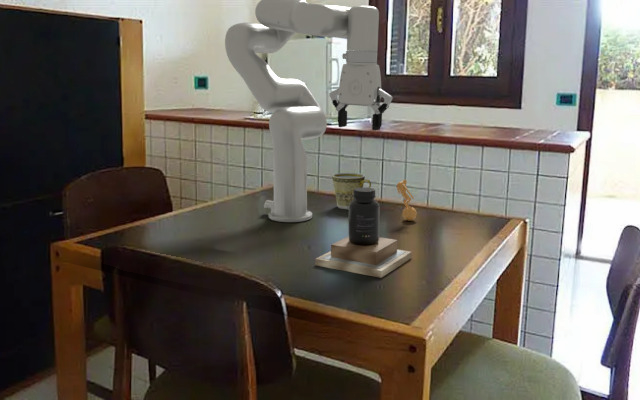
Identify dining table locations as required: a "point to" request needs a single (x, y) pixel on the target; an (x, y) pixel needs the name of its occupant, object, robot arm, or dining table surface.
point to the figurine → (408, 212)
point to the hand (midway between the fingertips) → (359, 128)
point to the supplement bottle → (364, 217)
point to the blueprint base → (362, 268)
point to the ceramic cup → (347, 187)
